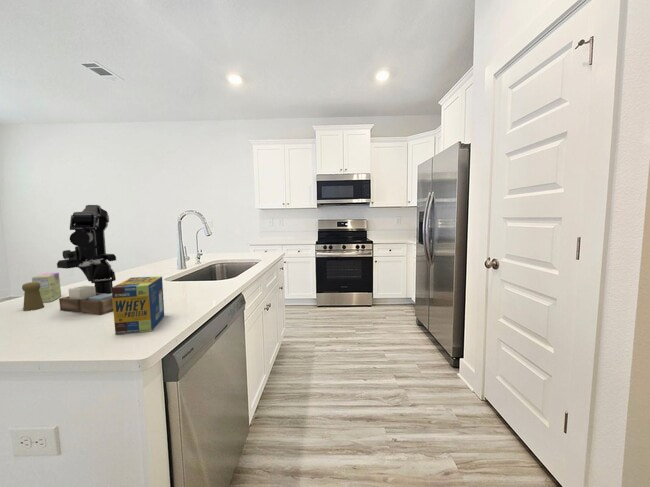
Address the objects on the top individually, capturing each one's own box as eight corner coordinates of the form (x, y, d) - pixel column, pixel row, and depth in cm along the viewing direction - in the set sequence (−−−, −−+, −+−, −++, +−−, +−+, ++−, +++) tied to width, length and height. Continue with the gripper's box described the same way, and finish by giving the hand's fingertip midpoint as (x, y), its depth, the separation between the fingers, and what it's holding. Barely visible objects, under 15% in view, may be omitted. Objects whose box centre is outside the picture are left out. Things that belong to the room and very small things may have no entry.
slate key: (105, 302, 115) (104, 293, 115) (116, 303, 114) (115, 294, 113) (89, 307, 110) (88, 297, 109) (100, 308, 108) (99, 298, 108)
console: (87, 303, 121) (86, 291, 121) (125, 307, 115) (124, 295, 115) (60, 310, 111) (59, 298, 111) (100, 315, 106) (99, 302, 105)
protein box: (114, 335, 87) (110, 287, 86) (134, 318, 102) (130, 277, 101) (151, 331, 90) (148, 285, 89) (165, 315, 105) (162, 275, 103)
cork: (30, 311, 111) (27, 284, 110) (19, 310, 112) (15, 284, 111) (48, 306, 117) (45, 281, 116) (37, 305, 118) (34, 280, 117)
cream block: (85, 294, 118) (84, 285, 118) (95, 295, 116) (95, 286, 116) (69, 298, 112) (68, 289, 112) (79, 299, 111) (79, 290, 110)
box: (45, 297, 130) (43, 273, 129) (61, 296, 132) (59, 272, 131) (34, 304, 120) (31, 277, 119) (51, 302, 123) (48, 276, 122)
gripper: (96, 240, 122) (99, 275, 124) (44, 245, 104) (48, 285, 106) (115, 241, 119) (118, 276, 121) (65, 246, 101) (70, 287, 103)
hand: (90, 281), depth 113 cm, fingers closed
